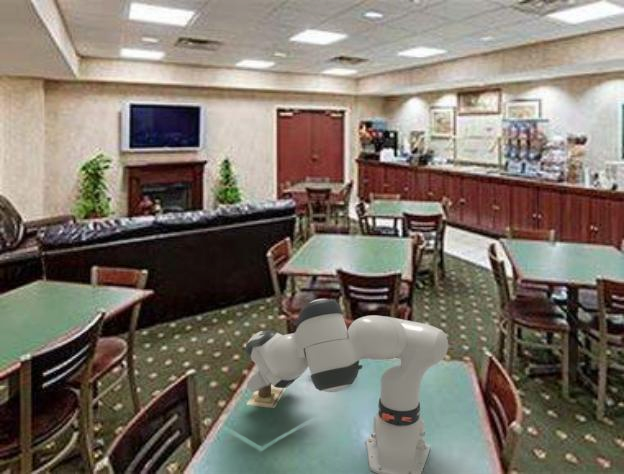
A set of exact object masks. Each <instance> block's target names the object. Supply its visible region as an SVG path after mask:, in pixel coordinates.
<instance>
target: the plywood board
mask: <svg viewBox="0 0 624 474" xmlns="http://www.w3.org/2000/svg"><path fill="white" fill-rule="evenodd" d="M286 388H287V387H286ZM286 388H277V387H274V386H273V385H272V384H271V392H275V397H274V398H273V400H272V402H271V403H263V402H255V397H256V395H257V394H258V392H259V390H257V391H255V392H253V393H252V395H251V397H250V398H249V399H248V400H247V402H246V404H245V405H246V406H252V407H253V406H254V407H261V408H267V409H269V408H271V409H275V408H276V406H277V405H278V403H279V401H280V399H281V398H282V396H283V394H284V392H285V390H286Z"/></svg>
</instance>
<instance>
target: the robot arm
mask: <svg viewBox="0 0 624 474" xmlns="http://www.w3.org/2000/svg"><path fill="white" fill-rule="evenodd" d="M343 315H344V312H343V310H342V308H341V306H340V304H339V302H338V301H336V300H335V299H333V298H332V299H331V298H329V299H328V298H318V299H314V300H312V301H310V302H308V303H306V304H305V305H304V306H303V307H302V308H301V310H300V311H299V313H298V316H297V319H296V320H294V321H293V325H294V326H296V331H294V332H292V333H288V334H287V333H285V334H281V333H279V332H277V331H275V330H266V329H263V330H260V331H258V332H256V333H254V334H253V335H252V336H251V337H250V338H249V339H248V341H247V343H246V345H245V354H246V355H247V356H248V357H249V359H251V360H252V361H253V363H254V364H255V366H257V369H258V370H257V371H256V372H255V373H254V374H253V375H252V376H251V377H250V378H249V380H247V382H246V385H247V388H248V390H249V391H250V392H251V393H252V394H253V393H254V392H255V391H257V390H260V389H262V388H264V387H266V386H268V385H271V384H272V385H273V386H274V387H277V388H288V387H289V386H290V385H292V384H293V383H294V382H295V380H297V379H298V378H301V376H302V375H303V374H304V373H305V372H306V371H307V370H308V368H309V372H310V374H311V375H310V379H311V381H312V383H313V386H314V387H315V389H316V390H318V391H320V392H321V391H323V392H327V393H337V392H341V391H343V390H345V389H347V388H348V387H349V386H350V385H352V384H353V383H355V380H356V379H357V377H358V375H359V370H362V369H363V364H360V360H366V359H367V360H376V361H381V360H384V361H385V360H393V359H399V360H400V364H398V365H395V366H392V367H389V368H388V369H386V370H385V371H384V372H383V373H382V376H381V378H380V379H381V381H380V398H379V400H378V405H377V406H378V412H377V413H376V414H375V415H374V416H373V423H372V426H373V427H372V433H371V435H370V436H367V437H366V439H365V446H366V453H367V460H368V465H369V470H370V471H372V472H373V473H376V474H421V473H422V474H423V471H424V469H423V468H425V465H426V462H427V459H428V457H429V454H430V452H431V445H429V443H427V442H425V439H424V438H425V435H426V431H425V421H424V420H423V419H422V418H421V403H420V391H421V383H422V380H423V377H424V375H425V374H426V372H427V371H428V370H429V369H430V368H431V367H434V366H436V365H437V364H439V363H440V362H442V361H443V360H444V358H445V357H446V355H447V353H448V350H449V340H448V337H447V336H446V333H445V332H444V331H443V330H442V329H440V328H437V327H435V326H433V325H431V324H427V323H423V322H416V321H412V320H406V319H402V318H396V317H391V316H386V315H385V316H383V315H377V314H376V315H375V314H374V315H372V314H371V315H366V316H365V315H364V316H361V317H359V318H357V319H355V320H354V321H352V323H351V324H350V325H349V327H347V325H346V322H345V320H344V316H343Z"/></svg>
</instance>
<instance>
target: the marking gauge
mask: <svg viewBox="0 0 624 474" xmlns="http://www.w3.org/2000/svg"><path fill="white" fill-rule="evenodd" d="M274 397H275V392H271V385H268V386H266V387H264V388H262V389H260V390H259V392H258V394H257V395H256V397H255V402H263V403H271V402H272V400H273V398H274Z"/></svg>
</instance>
